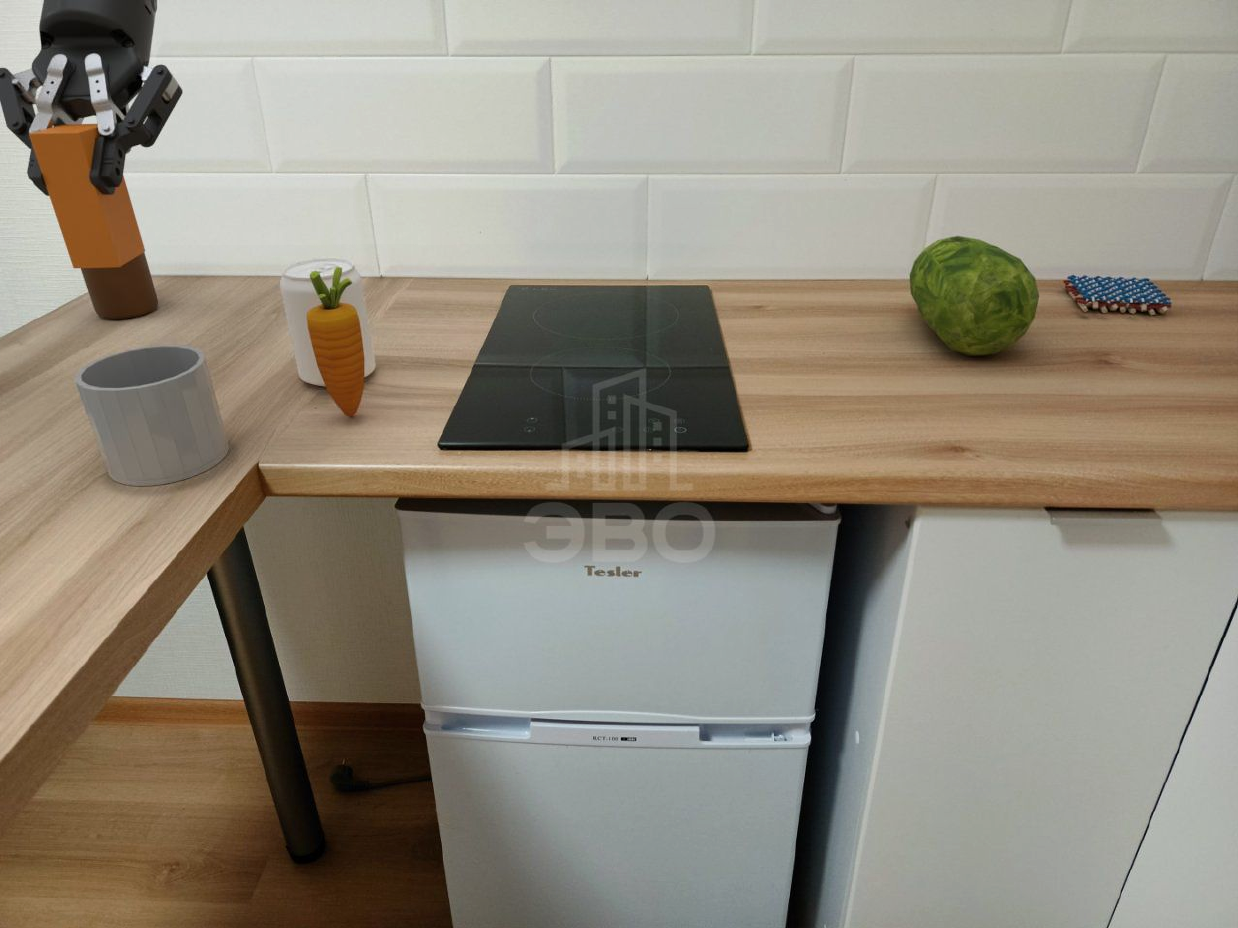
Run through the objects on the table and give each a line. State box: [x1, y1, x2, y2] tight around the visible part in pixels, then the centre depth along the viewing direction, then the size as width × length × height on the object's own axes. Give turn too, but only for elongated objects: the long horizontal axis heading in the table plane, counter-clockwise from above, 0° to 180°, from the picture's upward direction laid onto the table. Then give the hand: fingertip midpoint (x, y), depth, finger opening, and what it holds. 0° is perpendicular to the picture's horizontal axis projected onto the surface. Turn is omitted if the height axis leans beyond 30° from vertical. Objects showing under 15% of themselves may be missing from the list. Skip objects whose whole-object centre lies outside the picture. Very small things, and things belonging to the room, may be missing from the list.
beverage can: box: [279, 257, 377, 388], centre depth 91 cm, size 8×8×12 cm
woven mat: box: [1062, 274, 1172, 316], centre depth 111 cm, size 10×11×2 cm
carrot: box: [307, 267, 365, 418], centre depth 81 cm, size 5×5×15 cm
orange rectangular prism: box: [29, 123, 146, 269], centre depth 67 cm, size 4×5×10 cm
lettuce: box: [909, 235, 1040, 357], centre depth 99 cm, size 12×21×11 cm, turn 2°
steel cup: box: [74, 344, 230, 487], centre depth 76 cm, size 10×10×9 cm
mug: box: [80, 252, 159, 320], centre depth 113 cm, size 12×8×9 cm, turn 17°
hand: (73, 188), depth 65 cm, fingers closed on orange rectangular prism, 3 cm apart
